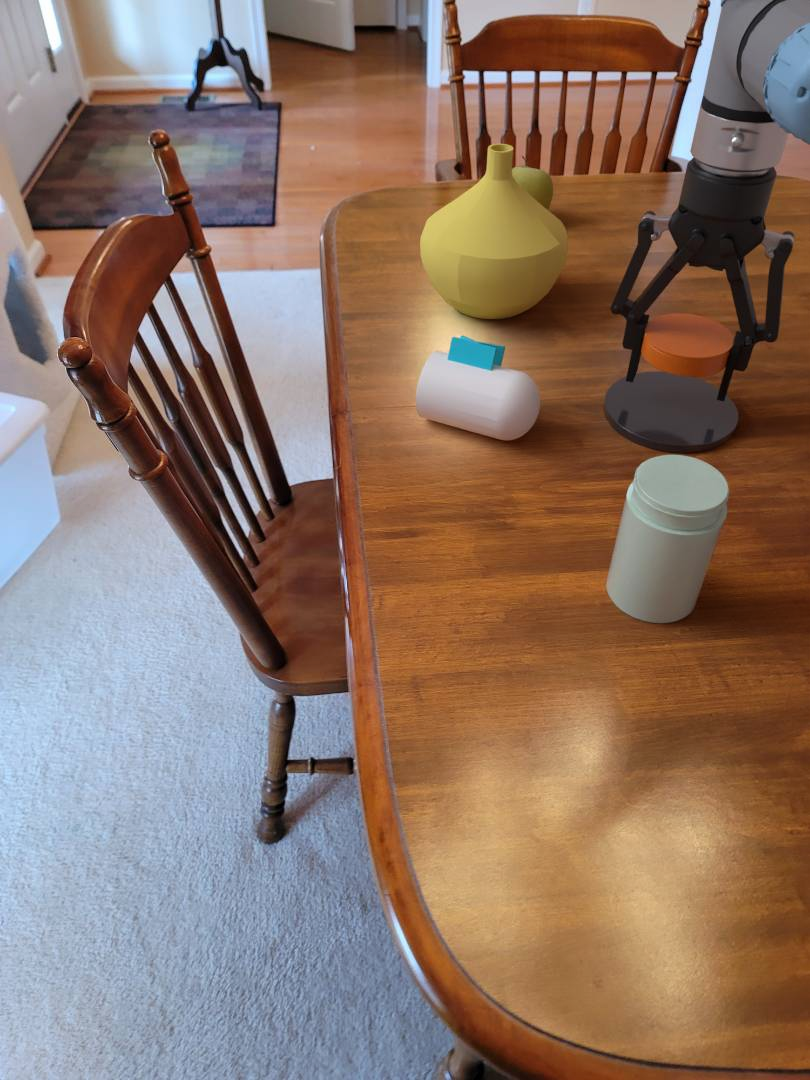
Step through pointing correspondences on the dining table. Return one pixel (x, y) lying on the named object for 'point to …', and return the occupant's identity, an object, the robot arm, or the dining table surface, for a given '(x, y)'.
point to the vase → (494, 245)
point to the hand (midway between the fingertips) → (676, 384)
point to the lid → (686, 345)
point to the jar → (666, 537)
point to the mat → (670, 412)
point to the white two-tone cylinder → (477, 391)
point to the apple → (535, 183)
